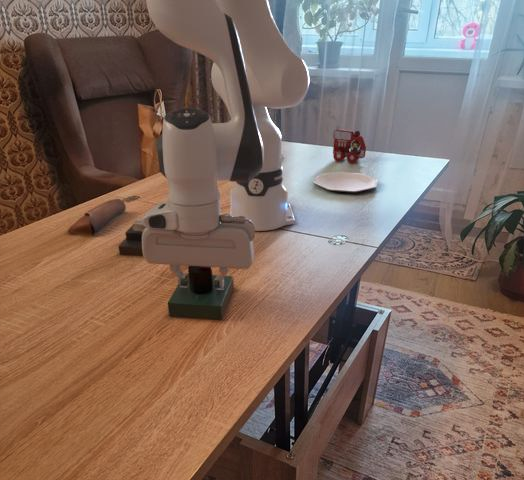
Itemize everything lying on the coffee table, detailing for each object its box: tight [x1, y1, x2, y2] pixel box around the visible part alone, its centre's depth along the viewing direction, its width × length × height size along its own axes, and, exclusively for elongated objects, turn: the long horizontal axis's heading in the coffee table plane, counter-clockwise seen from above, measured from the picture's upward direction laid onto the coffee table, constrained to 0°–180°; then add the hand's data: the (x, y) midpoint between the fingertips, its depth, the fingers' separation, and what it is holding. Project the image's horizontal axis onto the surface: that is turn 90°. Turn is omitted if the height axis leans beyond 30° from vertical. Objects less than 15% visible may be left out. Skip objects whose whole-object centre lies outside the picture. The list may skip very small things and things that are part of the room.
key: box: [131, 217, 146, 232], centre depth 114 cm, size 4×4×2 cm
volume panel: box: [167, 273, 235, 321], centre depth 93 cm, size 12×10×3 cm
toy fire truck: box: [332, 129, 367, 164], centre depth 176 cm, size 7×12×10 cm, turn 66°
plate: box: [313, 171, 379, 194], centre depth 154 cm, size 20×20×2 cm
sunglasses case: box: [67, 198, 127, 237], centre depth 127 cm, size 18×7×7 cm
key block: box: [117, 225, 143, 257], centre depth 116 cm, size 14×8×4 cm, turn 172°
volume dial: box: [187, 266, 213, 294], centre depth 91 cm, size 4×4×5 cm
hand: (201, 285), depth 91 cm, fingers open, 6 cm apart
